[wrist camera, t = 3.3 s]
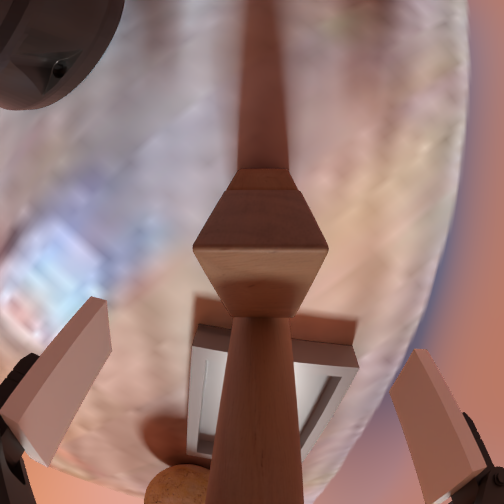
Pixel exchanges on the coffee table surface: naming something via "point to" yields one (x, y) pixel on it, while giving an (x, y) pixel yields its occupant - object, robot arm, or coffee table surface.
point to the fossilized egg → (178, 485)
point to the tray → (306, 379)
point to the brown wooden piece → (259, 332)
